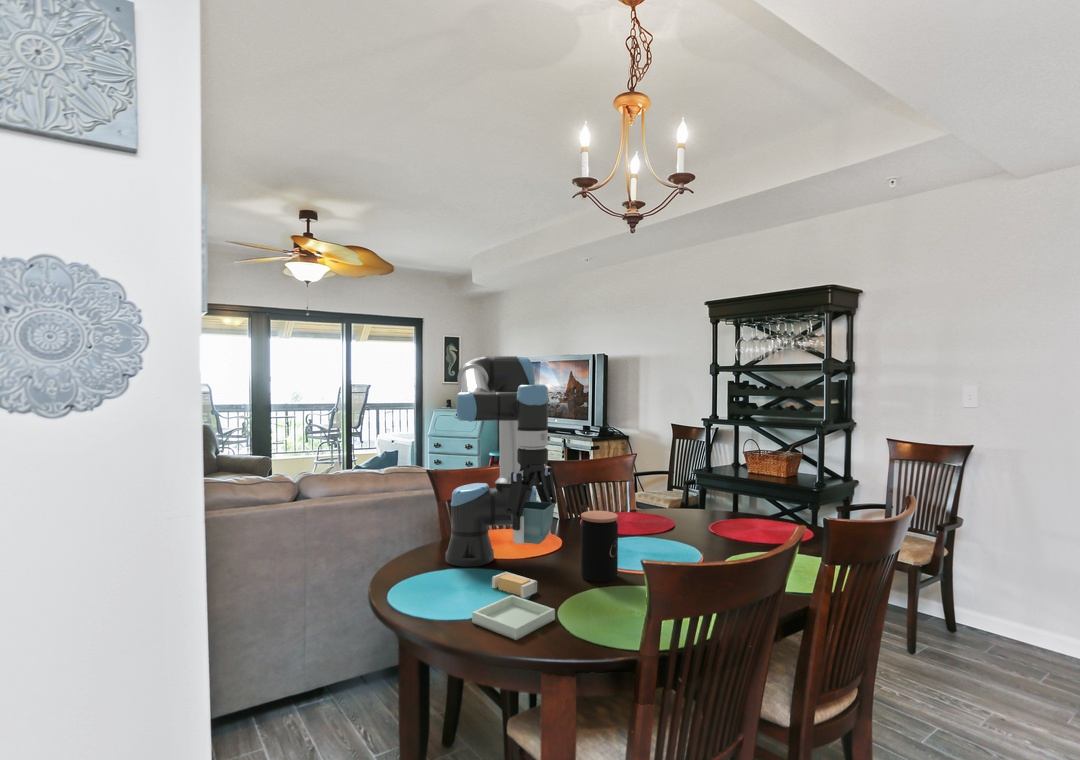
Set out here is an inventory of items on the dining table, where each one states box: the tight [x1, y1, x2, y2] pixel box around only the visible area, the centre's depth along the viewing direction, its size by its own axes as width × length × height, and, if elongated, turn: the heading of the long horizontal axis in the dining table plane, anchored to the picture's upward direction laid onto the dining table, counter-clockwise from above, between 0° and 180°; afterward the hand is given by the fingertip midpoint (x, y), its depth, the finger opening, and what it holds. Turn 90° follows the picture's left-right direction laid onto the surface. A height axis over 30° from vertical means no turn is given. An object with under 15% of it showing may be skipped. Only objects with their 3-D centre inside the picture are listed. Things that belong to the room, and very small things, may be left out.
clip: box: [491, 571, 538, 599], centre depth 154 cm, size 11×6×3 cm, turn 51°
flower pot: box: [511, 501, 555, 545], centre depth 140 cm, size 9×9×9 cm
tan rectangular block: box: [498, 574, 530, 597], centre depth 154 cm, size 8×4×4 cm, turn 56°
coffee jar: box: [580, 510, 619, 584], centre depth 164 cm, size 11×11×18 cm
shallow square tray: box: [471, 594, 556, 641], centre depth 134 cm, size 14×14×2 cm
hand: (532, 538), depth 140 cm, fingers closed on flower pot, 10 cm apart
